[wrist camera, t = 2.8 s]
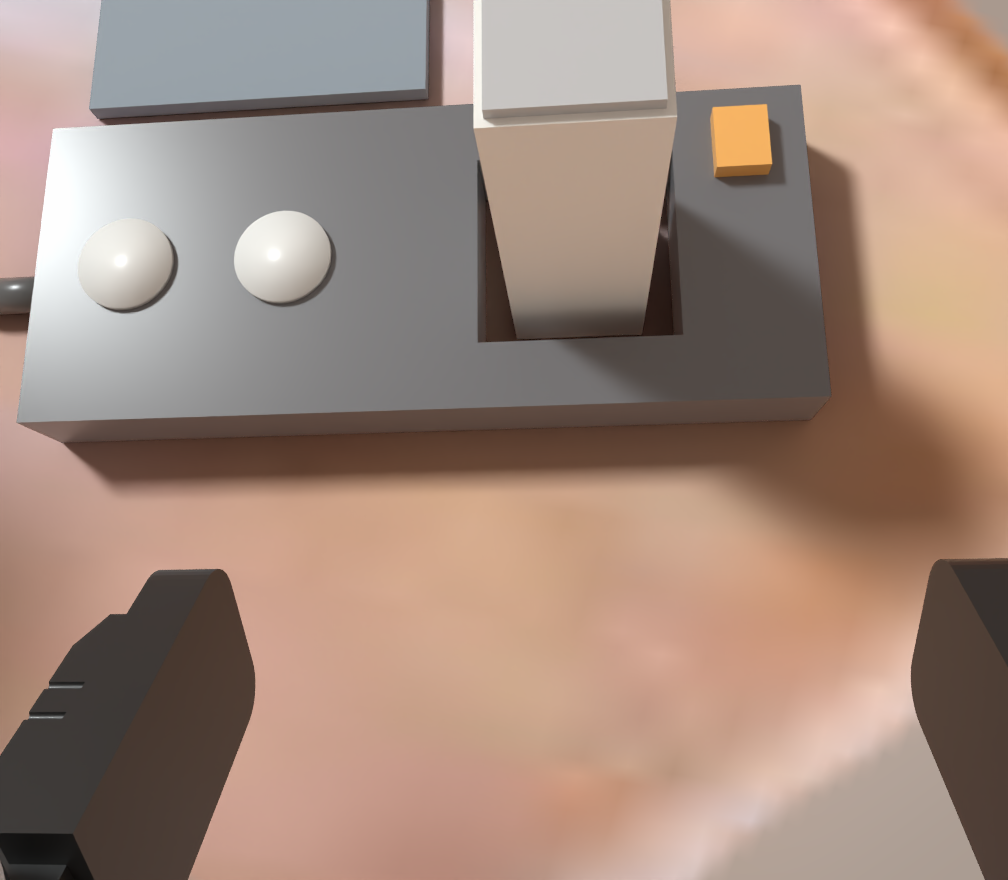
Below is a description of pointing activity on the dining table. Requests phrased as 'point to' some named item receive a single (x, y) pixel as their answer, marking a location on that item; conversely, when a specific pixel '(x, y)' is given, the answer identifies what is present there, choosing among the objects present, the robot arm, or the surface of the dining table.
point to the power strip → (396, 282)
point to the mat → (256, 54)
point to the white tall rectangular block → (575, 155)
